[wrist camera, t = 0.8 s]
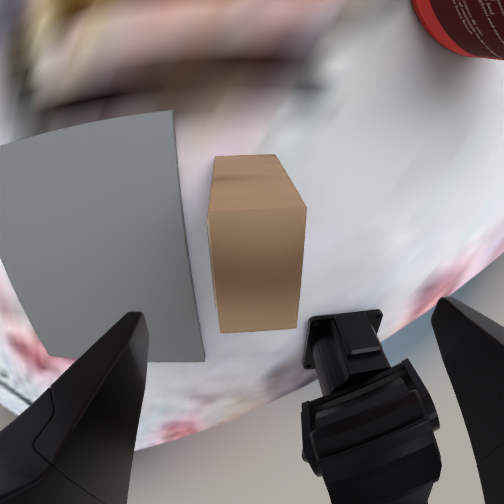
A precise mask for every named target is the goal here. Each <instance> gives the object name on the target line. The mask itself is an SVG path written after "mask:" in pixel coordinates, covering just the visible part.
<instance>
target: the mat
mask: <svg viewBox="0 0 504 504" xmlns="http://www.w3.org/2000/svg"><path fill="white" fill-rule="evenodd" d="M0 258H1V260H2V263H3V265H4V267H5V270H6V272H7V274H8V277H9V279H10V281H11V284H12V286H13V288H14V290H15V292H16V294H17V297H18V299H19V301H20V303H21V305H22V307H23V309H24V311H25V313H26V315H27V317H28V319H29V320H30V322H31V324H32V326H33V328H34V330H35V332H36V333H37V335H38V337H39V339H40V340H41V342H42V344H43V346H44V347H45V349H46V351H47V352H48V354H49V356H58V357H69V358H80V357H81V356H82V355H83V354H84V353H85V352H86V351H87V350H88V349H89V348H90V347H91V346H92V345H93V344H94V343H95V342H96V341H97V340H98V339H99V338H100V337H101V336H103V335H104V334H105V333H106V332H107V331H108V330H109V329H110V328H111V327H112V326H113V325H114V324H115V323H116V322H117V321H119V320H120V319H121V318H122V317H123V316H124V315H125V314H126V313H127V312H129V311H141V312H143V314H144V316H145V320H146V324H147V327H148V331H149V350H148V360H147V362H203V361H205V353H204V348H203V343H202V337H201V331H200V326H199V320H198V314H197V308H196V302H195V296H194V289H193V283H192V276H191V269H190V262H189V255H188V248H187V241H186V233H185V225H184V217H183V209H182V200H181V191H180V181H179V171H178V161H177V150H176V138H175V125H174V111H173V110H168V111H159V112H151V113H144V114H136V115H130V116H123V117H117V118H111V119H106V120H100V121H95V122H90V123H85V124H80V125H76V126H71V127H67V128H63V129H59V130H54V131H50V132H47V133H43V134H39V135H35V136H32V137H28V138H25V139H21V140H18V141H15V142H11V143H8V144H5V145H2V146H0Z"/></svg>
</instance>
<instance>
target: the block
mask: <svg viewBox="0 0 504 504" xmlns="http://www.w3.org/2000/svg"><path fill="white" fill-rule="evenodd" d="M306 211H307V207H306V205H305V203H304V201H303V200H302V198H301V196H300V195H299V193H298V191H297V190H296V188H295V186H294V184H293V183H292V181H291V179H290V178H289V176H288V174H287V173H286V171H285V170H284V168H283V166H282V165H281V163H280V161H279V160H278V158H277V156H276V155H275V154H269V155H237V156H217V157H215V163H214V170H213V178H212V185H211V192H210V200H209V208H208V217H207V229H208V240H209V251H210V261H211V271H212V280H213V289H214V298H215V307H216V309H218V317H219V326H220V333H237V332H254V331H268V330H281V329H293V328H296V327H297V317H298V308H299V298H300V287H301V276H302V265H303V252H304V240H305V226H306Z"/></svg>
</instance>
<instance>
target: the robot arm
mask: <svg viewBox="0 0 504 504" xmlns="http://www.w3.org/2000/svg"><path fill="white" fill-rule="evenodd" d="M376 315H377V316H376ZM382 317H383V314H382V312H381V310H379V309H377V310H369V311H360V312H352V313H343V314H333V315H323V316H314V317H312V318H311V319H310V320H309V324H308V331H307V338H306V345H305V351H304V358H303V368H304V369H315V368H316V372H317V375H318V379H319V383H320V387H321V390H322V394H323V397H321V398H318V399H315V400H312V401H310V402H309V401H306V402H304V403H302V412H301V422H302V440H303V450H302V458H303V460H304V461H305V462H307V463H309V464H310V466H311V468H312V470H313V472H314V473H315V475H317V476H318V477H321V476H323V479H324V482H325V485H326V487H327V490H328V492H329V495H330V499H331V503H332V504H428V501H427V500H428V498H429V495H430V492H431V489H432V486H433V483H435V482H437V481H438V480H439V477H440V472H441V467H442V464H441V456H440V452H439V449H438V446H437V442H436V439H435V436H434V433H433V432H434V431H436V430H438V429H439V428H440V424H439V419H438V415H437V412H436V409H435V406H434V403H433V401H432V399H431V397H430V394H429V393H428V391H427V389H426V387H425V386H424V384H423V382H422V381H421V379H420V377H419V376H418V374H417V373H416V371H415V369H414V368H413V366H412V364H411V363H410V361H409V360H408V358H407V359H405V360H403V361H401V363H399V364H397V365H395V366H393V367H391V366H390V364H389V362H388V360H387V358H386V356H385V354H384V351H383V349H382V345H381V343H380V341H379V339H378V337H377V332H378V329H379V326H380V323H381V320H382ZM314 322H316V323H314ZM431 323H432V327H433V330H434V333H435V336H436V339H437V343H438V346H439V349H440V353H441V356H442V359H443V362H444V365H445V368H446V370H447V373H448V375H449V378H450V381H451V383H452V386H453V389H454V392H455V394H456V397H457V400H458V403H459V406H460V409H461V412H462V415H463V418H464V421H465V425H466V428H467V431H468V434H469V437H470V441H471V444H472V448H473V452H474V456H475V459H476V463H477V468H478V472H479V477H480V480H481V485H482V490H483V495H484V500H485V504H504V327H503V326H501V325H499V324H498V323H496V322H494V321H493V320H491V319H489V318H488V317H486V316H484V315H483V314H481V313H479V312H477V311H476V310H474V309H473V308H470V307H469V306H467V305H466V304H464V303H462V302H460V301H459V300H457V299H455V298H453V297H451V296H446V297H441V298H440V299H439V300H438V302H437V305H436V307H435V310H434V312H433V314H432V317H431ZM148 350H149V331H148V327H147V324H146V320H145V316H144V314H143V312H141V311H129V312H127V313H126V314H125V315H124V316H123V317H122V318H121V319H120V320H119V321H117V322H116V323H115V324H114V325H113V326H112V327H111V328H110V329H109V330H108V331H107V332H106V333H105V334H104V335H103V336H101V337H100V338H99V339H98V340H97V341H96V342H95V343H94V344H93V345H92V346H91V347H90V348H89V349H88V350H87V351H86V352H85V353H84V354H83V355H82V356H81V357H80V358H78V359H77V360H76V361H75V362H74V363H73V364H72V365H71V366H70V367H69V368H68V369H67V370H66V371H65V372H64V373H63V374H62V375H61V376H60V377H59V378H58V379H57V380H56V381H55V382H54V383H53V384H52V385H51V386H50V388H48V389H47V390H46V391H45V392H44V393H43V394H42V395H41V396H40V397H39V398H38V399H37V400H36V401H35V402H34V403H33V404H32V405H30V406H29V407H28V408H27V409H26V410H25V411H24V412H23V413H22V414H20V415H19V416H18V417H17V418H16V419H15V420H14V421H12V422H11V423H10V424H9V425H8V426H6V427H5V428H4V429H3V430H2V431H0V504H127V496H128V488H129V481H130V474H131V467H132V460H133V453H134V447H135V441H136V435H137V429H138V424H139V418H140V413H141V407H142V402H143V397H144V391H145V384H146V372H147V360H148Z"/></svg>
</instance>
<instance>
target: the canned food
mask: <svg viewBox="0 0 504 504" xmlns="http://www.w3.org/2000/svg"><path fill="white" fill-rule="evenodd" d="M411 1H412V4H413V7H414V10H415V12H416V14H417V16H418V18H419V20H420V22H421V23H422V25H423V26H424V28H425V29H426V31H427V32H428V33H429V34H430V35H431V37H432V38H434V39H435V40H436V41H437V42H438V43H439V44H441V45H442V46H444V47H445V48H447V49H449V50H451V51H453V52H455V53H457V54H460V55H463V56H469V57H480V58H489V59H497V60H504V0H411Z"/></svg>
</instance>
